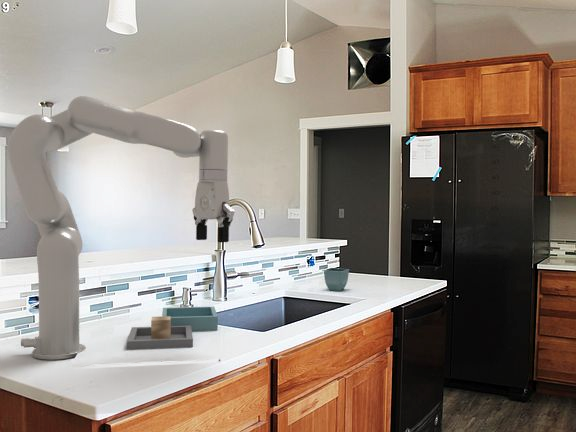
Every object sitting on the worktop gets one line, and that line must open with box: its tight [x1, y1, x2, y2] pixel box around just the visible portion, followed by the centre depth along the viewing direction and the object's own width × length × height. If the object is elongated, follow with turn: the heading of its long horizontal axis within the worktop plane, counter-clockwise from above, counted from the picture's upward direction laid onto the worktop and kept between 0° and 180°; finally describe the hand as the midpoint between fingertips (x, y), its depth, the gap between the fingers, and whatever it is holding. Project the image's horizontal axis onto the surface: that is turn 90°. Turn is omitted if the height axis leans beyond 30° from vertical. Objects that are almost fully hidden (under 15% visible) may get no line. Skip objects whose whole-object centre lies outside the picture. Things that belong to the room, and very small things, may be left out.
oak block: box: [150, 315, 171, 339], centre depth 158 cm, size 5×5×6 cm
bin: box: [126, 325, 194, 351], centre depth 158 cm, size 17×17×3 cm
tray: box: [161, 306, 219, 332], centre depth 177 cm, size 16×16×5 cm
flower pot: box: [323, 267, 350, 292], centre depth 254 cm, size 9×9×9 cm
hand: (212, 241), depth 156 cm, fingers open, 9 cm apart
